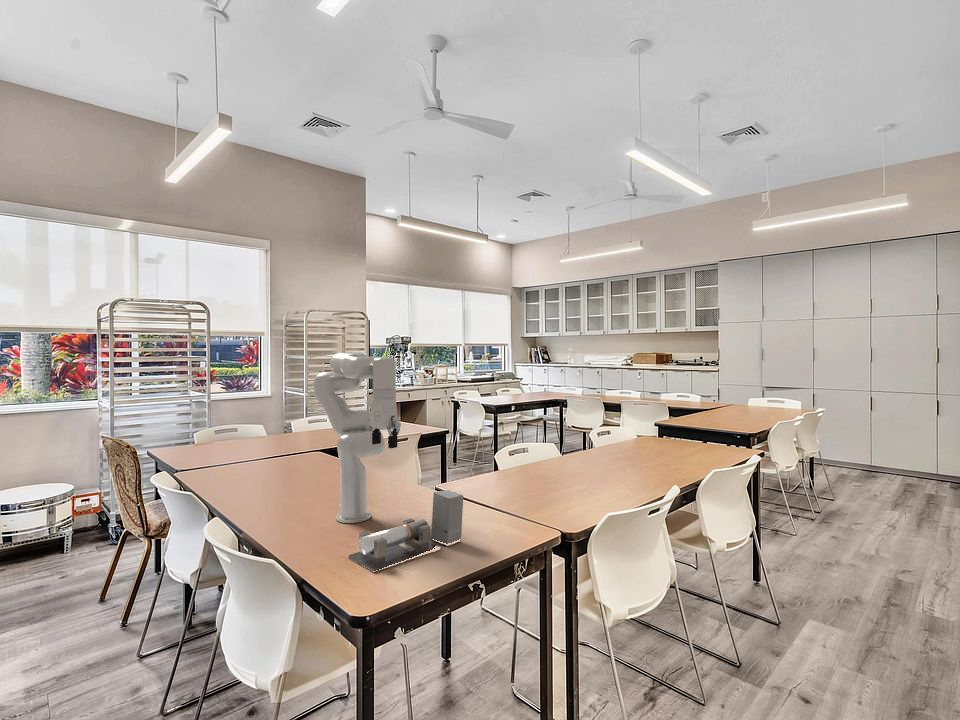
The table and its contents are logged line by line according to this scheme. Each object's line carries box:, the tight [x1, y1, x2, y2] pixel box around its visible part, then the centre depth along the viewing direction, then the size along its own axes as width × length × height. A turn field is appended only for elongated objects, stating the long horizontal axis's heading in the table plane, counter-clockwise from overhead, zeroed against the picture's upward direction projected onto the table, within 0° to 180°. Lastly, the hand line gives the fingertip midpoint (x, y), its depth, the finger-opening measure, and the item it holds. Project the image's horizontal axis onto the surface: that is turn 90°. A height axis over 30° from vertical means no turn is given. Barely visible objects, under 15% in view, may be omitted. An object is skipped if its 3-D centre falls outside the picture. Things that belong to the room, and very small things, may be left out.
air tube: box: [358, 519, 429, 555], centre depth 155 cm, size 22×5×5 cm, turn 134°
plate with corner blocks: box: [348, 518, 437, 571], centre depth 155 cm, size 14×24×8 cm, turn 134°
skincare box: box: [431, 489, 464, 544], centre depth 165 cm, size 8×7×16 cm
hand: (384, 445), depth 170 cm, fingers open, 9 cm apart
